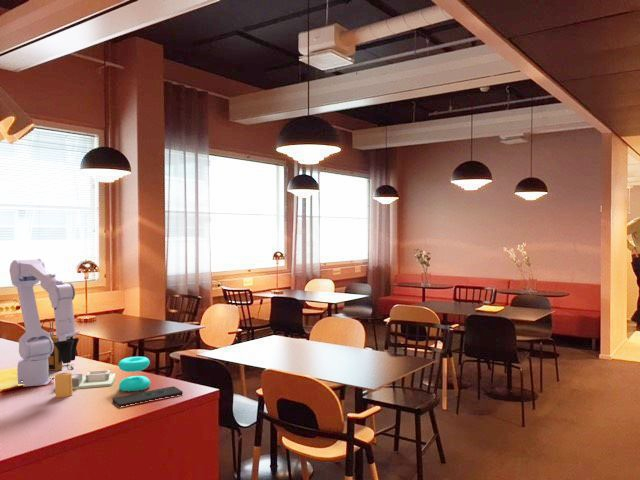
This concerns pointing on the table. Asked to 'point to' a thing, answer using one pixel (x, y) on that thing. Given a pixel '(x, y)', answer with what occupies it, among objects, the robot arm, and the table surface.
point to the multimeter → (55, 354)
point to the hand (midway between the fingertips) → (69, 361)
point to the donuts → (135, 381)
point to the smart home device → (147, 396)
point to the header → (98, 375)
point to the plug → (63, 384)
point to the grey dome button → (76, 379)
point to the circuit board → (95, 382)
